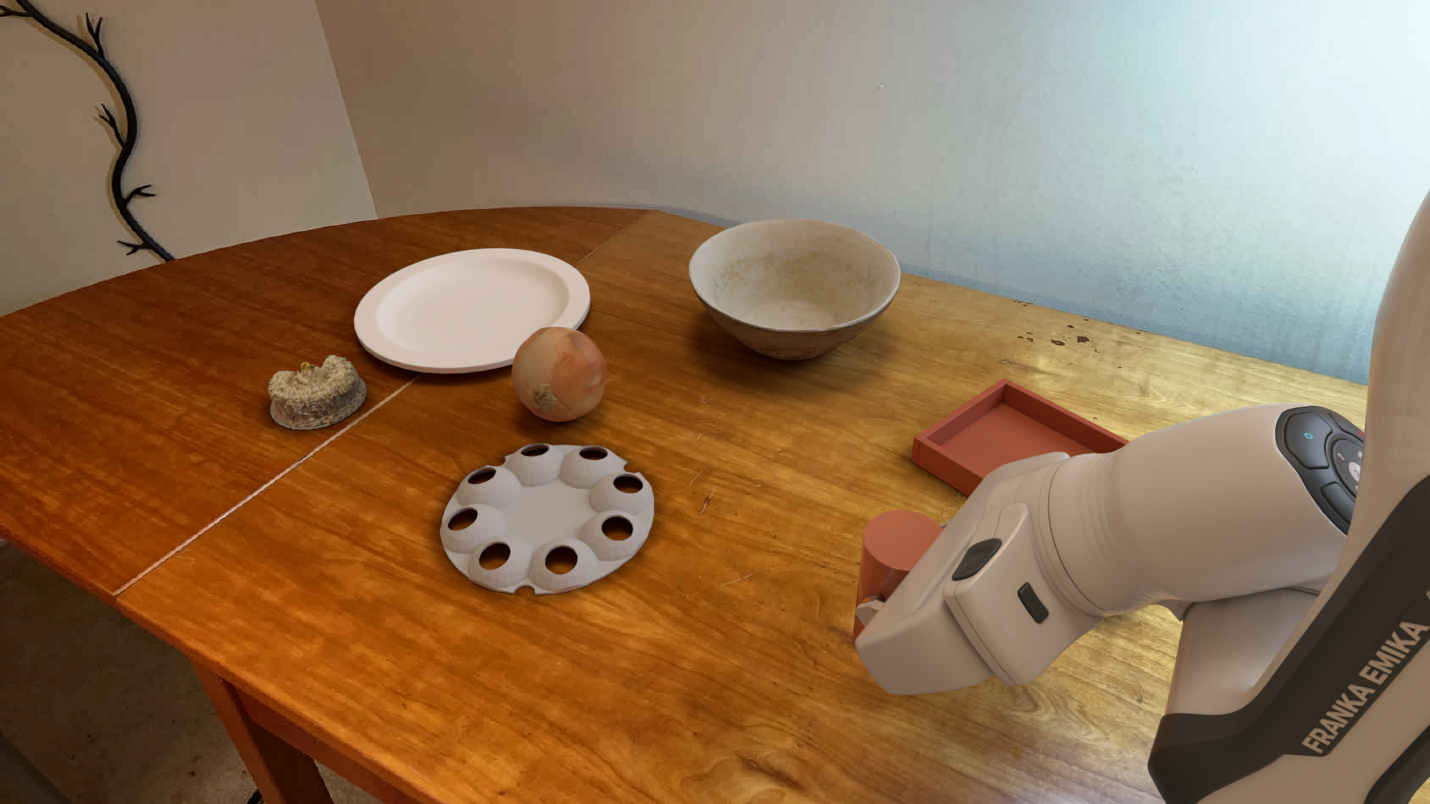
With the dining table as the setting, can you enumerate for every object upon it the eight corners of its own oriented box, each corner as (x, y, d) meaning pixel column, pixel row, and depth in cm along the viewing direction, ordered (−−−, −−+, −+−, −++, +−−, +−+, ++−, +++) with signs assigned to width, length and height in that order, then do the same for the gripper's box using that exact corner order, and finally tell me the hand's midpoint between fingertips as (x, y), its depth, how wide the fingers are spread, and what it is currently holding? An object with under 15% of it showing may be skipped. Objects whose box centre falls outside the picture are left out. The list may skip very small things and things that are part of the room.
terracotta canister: (945, 657, 64) (965, 558, 58) (873, 678, 63) (885, 579, 57) (909, 599, 69) (924, 502, 63) (840, 617, 67) (849, 520, 61)
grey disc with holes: (692, 483, 87) (692, 468, 86) (574, 628, 74) (572, 612, 72) (529, 425, 95) (526, 410, 94) (394, 546, 81) (389, 530, 80)
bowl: (838, 422, 95) (845, 342, 89) (651, 356, 105) (646, 280, 99) (921, 320, 111) (932, 246, 105) (752, 271, 121) (753, 201, 115)
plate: (319, 315, 113) (314, 298, 111) (513, 243, 127) (511, 228, 126) (429, 417, 96) (424, 399, 95) (637, 321, 111) (636, 304, 109)
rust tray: (1129, 468, 89) (1137, 444, 87) (1042, 542, 81) (1050, 518, 79) (999, 399, 98) (1004, 376, 96) (910, 460, 90) (913, 437, 88)
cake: (383, 408, 98) (373, 369, 95) (291, 447, 93) (276, 408, 90) (346, 362, 104) (334, 324, 100) (257, 397, 99) (241, 358, 95)
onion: (510, 441, 93) (494, 361, 87) (527, 384, 101) (514, 306, 95) (604, 441, 93) (596, 360, 87) (614, 384, 100) (607, 306, 94)
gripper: (1091, 409, 58) (934, 466, 69) (947, 609, 46) (782, 640, 56) (1144, 489, 59) (980, 532, 70) (1016, 708, 46) (839, 720, 57)
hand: (890, 582), depth 63 cm, fingers closed on terracotta canister, 5 cm apart
